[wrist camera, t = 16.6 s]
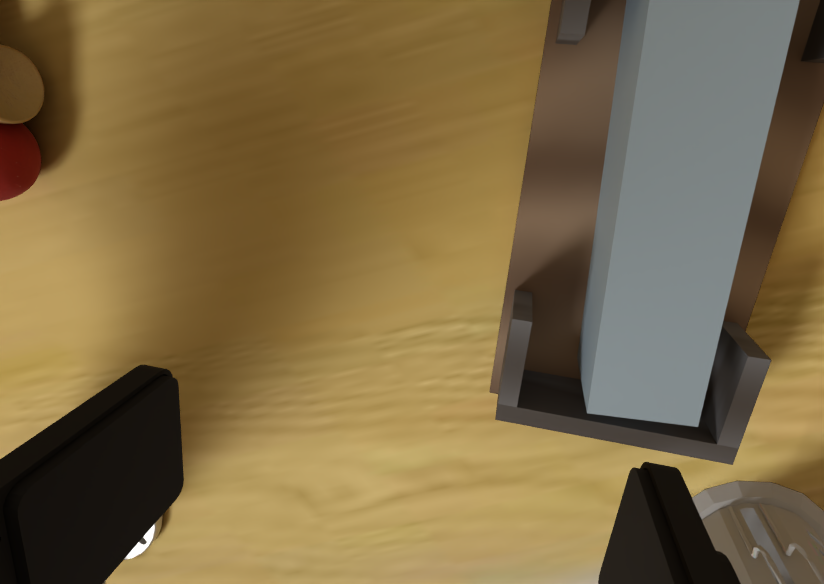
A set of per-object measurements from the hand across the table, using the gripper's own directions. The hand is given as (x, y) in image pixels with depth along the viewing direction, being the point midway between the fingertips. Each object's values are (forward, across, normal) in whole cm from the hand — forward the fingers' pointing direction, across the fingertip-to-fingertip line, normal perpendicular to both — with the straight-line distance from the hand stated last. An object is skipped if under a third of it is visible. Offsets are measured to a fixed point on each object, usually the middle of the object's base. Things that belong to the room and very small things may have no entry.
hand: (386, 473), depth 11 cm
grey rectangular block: (+21, -9, -4) cm, 23 cm away
